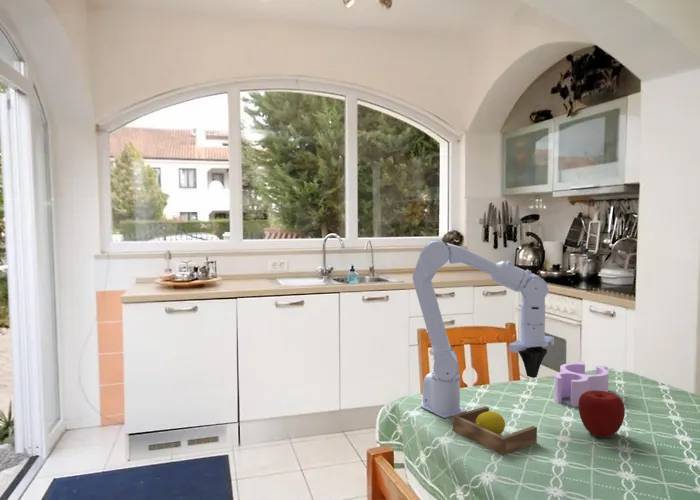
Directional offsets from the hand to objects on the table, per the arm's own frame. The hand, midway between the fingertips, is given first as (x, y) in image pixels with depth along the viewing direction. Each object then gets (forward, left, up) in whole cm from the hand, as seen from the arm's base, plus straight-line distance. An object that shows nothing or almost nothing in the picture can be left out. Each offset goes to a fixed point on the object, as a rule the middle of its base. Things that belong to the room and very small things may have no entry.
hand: (531, 376), depth 128 cm
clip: (-2, +23, -10) cm, 25 cm away
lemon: (+3, -14, -8) cm, 16 cm away
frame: (+4, -17, -10) cm, 20 cm away
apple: (+16, +4, -10) cm, 19 cm away
